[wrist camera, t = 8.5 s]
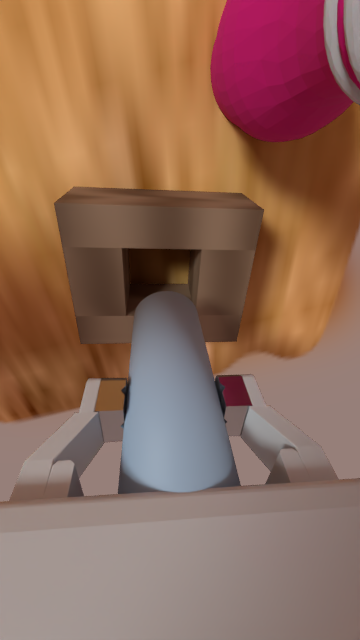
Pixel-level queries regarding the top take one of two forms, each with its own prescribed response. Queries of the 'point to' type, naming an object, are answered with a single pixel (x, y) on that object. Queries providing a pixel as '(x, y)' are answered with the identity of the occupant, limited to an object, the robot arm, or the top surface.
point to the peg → (172, 405)
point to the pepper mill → (286, 65)
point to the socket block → (156, 233)
